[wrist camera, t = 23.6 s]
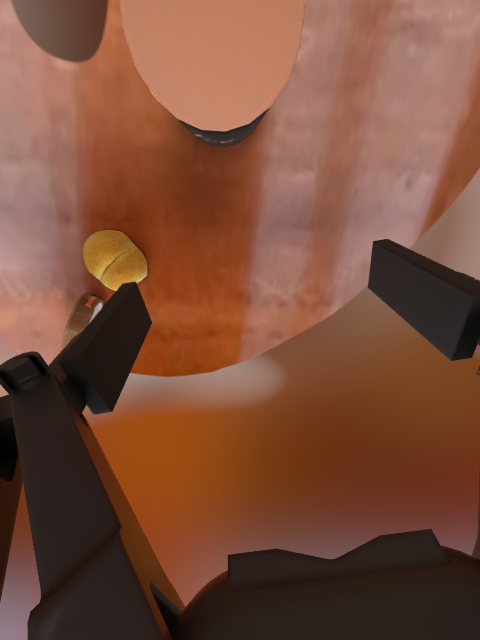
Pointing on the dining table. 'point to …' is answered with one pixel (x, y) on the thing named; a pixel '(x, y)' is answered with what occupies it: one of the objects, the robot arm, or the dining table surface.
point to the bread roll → (114, 259)
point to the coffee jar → (214, 59)
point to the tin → (81, 316)
